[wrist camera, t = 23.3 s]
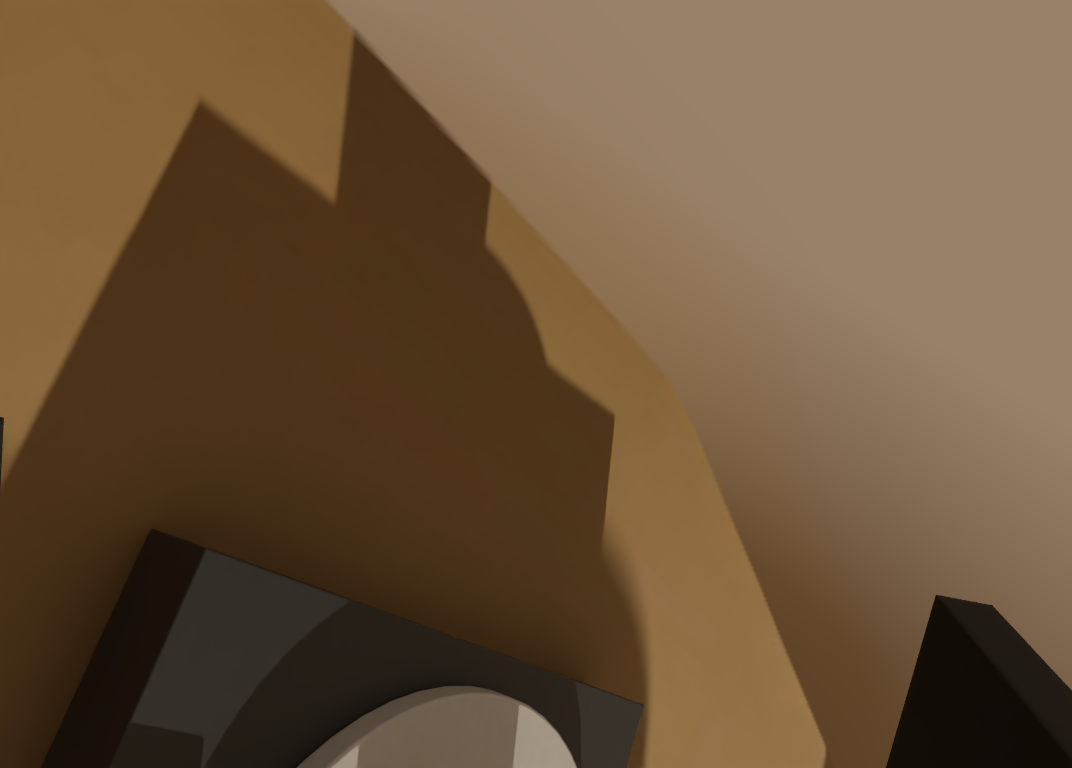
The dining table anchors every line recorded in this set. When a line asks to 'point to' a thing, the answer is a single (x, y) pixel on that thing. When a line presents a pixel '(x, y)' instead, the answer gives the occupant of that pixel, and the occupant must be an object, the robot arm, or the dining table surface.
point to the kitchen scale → (312, 683)
